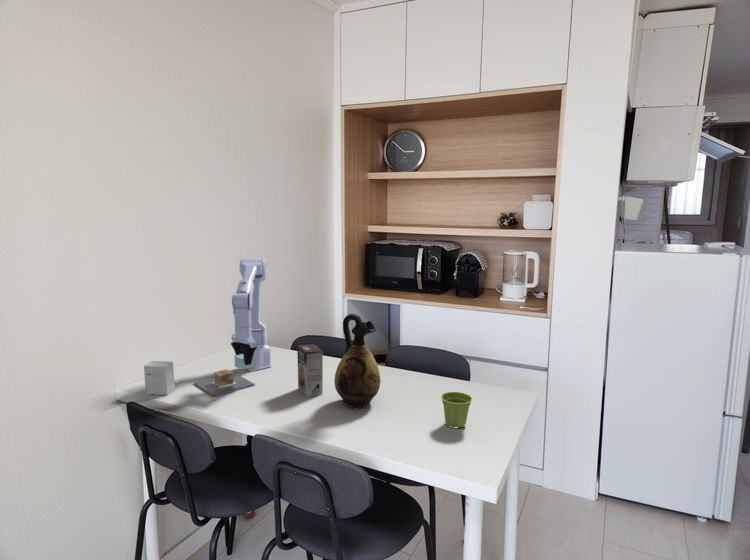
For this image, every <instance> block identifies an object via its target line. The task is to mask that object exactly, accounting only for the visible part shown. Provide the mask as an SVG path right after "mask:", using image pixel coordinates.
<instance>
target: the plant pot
mask: <svg viewBox="0 0 750 560" xmlns="http://www.w3.org/2000/svg"><path fill="white" fill-rule="evenodd" d="M440 398H441V400H442V404H443V412H444V421H445V422H444V423H445V425H447V426H448V427H449V426H451V427H460V428H462V426H464V425H465V424H466V425H467V420H468V414H469V410H470V406H471V403H472V401H473V397H472V396H471V395H470V394H468V393H464V392H461V391H449V392H448V391H447V392H444V393H442V394H441V395H440ZM466 425H465V426H466ZM451 427H450V428H451Z"/></svg>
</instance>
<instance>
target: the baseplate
mask: <svg viewBox="0 0 750 560" xmlns="http://www.w3.org/2000/svg"><path fill="white" fill-rule="evenodd" d="M255 384H256V383H254V382H252V381H250V380H248V379H247V378H245V377H244V376H241V375H239V374H237V373H235V372H233V383H232V384H228V385H225V386H221V387H220V386H219V385H217V384H216V383H214V377H211V378H207V379H203V380H199V381H198V380H197V381H195V382H193V385H194V386H196V387H198V388H200V390H202V391H204V392H205V393H206V394H208V395H210V396H212V397H216V396H221V395H224V394H229V393H231V392H235V391H240V390H244V389H248V388H251V387H255V386H256V385H255Z"/></svg>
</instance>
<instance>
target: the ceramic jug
mask: <svg viewBox="0 0 750 560" xmlns="http://www.w3.org/2000/svg"><path fill="white" fill-rule="evenodd" d="M343 318H344V319H343V321H342V331H343V336H344V340H345V345H346V347H345V349H344V353H343V356H342V357H341V359H340V361H339V363H338V365H337V367H336V371H335V375H334V388H335V391H336V392H337V394H338V396H340V398H341V399H342V403H343V404H344V405H345V407H348V408H351V409H353V408H357V409H364V408H363V407H365V408H368V407H367V406H370V405H371V402H372V400H373V399H374V398H375V397H376V395H377V394H378V392H379V390H380V388H381V387H380V386H381V374H380V370H379V365H378V363H377V361H376V359H375V357H374V355H373V354H372V352H371V350H370V349H369V348H368V346H367V343H365V342H366V341H365V337H366V336H368V335H370V334H374V333H376V331H377V328H376V327H375V325H374V323H373V321H371V320H368V321H366V322H365V321H363V320H362V318H361V317H360V315H358V314H355V313H350V314H348V315H346V316H345V317H343ZM350 321H354V322H355V325H354V327H353V328H352V329H351V331H350ZM351 334H353V335H354V337H353V340H352V336H351Z"/></svg>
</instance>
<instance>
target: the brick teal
mask: <svg viewBox="0 0 750 560" xmlns="http://www.w3.org/2000/svg"><path fill="white" fill-rule="evenodd" d="M234 367H236V368H237V369H240V370H247V368H251V367H254V356H253V358H252V362H251V364H250V365H245V362H244V356H243V354H240V355H236V354H235V355H234Z"/></svg>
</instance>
